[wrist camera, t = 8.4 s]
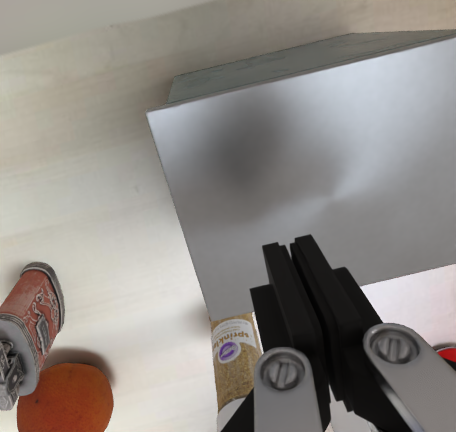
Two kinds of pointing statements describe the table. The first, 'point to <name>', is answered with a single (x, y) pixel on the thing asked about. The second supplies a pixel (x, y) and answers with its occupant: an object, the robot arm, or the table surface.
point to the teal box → (294, 61)
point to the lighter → (28, 330)
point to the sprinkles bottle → (233, 362)
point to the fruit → (67, 401)
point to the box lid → (317, 170)
